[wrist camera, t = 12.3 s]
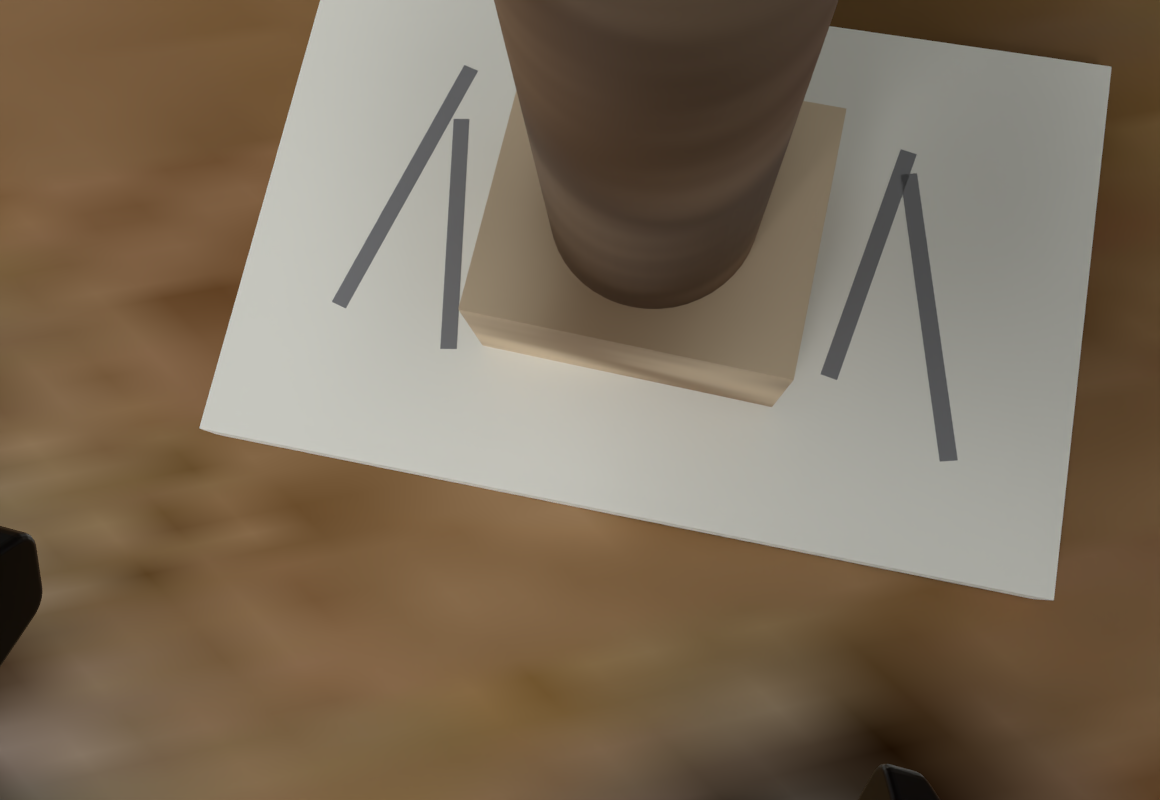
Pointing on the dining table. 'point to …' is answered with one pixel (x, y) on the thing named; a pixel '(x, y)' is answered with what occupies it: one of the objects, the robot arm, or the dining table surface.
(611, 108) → the brown piece
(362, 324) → the board
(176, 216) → the dining table surface
